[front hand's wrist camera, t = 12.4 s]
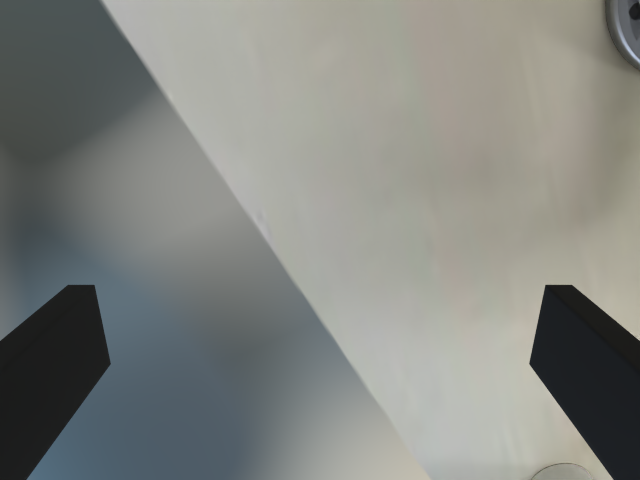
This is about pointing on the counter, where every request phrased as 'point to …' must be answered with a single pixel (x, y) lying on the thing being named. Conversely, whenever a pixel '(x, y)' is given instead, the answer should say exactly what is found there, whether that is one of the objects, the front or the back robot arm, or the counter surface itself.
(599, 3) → the counter surface
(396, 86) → the counter surface
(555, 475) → the can
